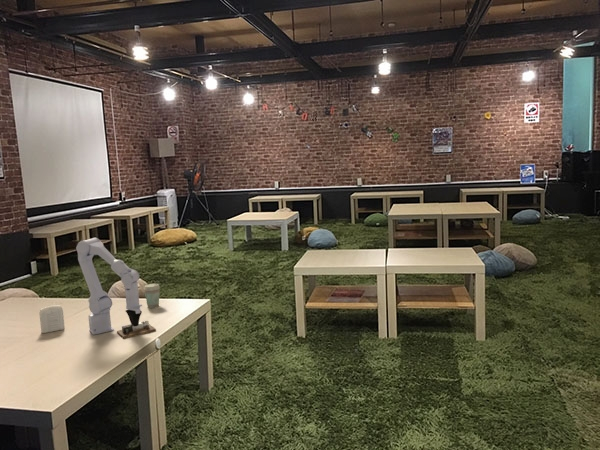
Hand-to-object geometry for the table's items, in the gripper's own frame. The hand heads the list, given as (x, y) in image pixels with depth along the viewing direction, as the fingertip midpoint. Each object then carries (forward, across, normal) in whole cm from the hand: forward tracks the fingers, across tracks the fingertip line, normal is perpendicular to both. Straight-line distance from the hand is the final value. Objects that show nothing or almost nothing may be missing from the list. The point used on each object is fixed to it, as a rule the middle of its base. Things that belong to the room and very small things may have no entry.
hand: (134, 325), depth 236 cm
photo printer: (+4, +30, +30) cm, 43 cm away
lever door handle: (+2, 0, -1) cm, 2 cm away
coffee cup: (+4, +36, -21) cm, 41 cm away
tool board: (+3, 0, 0) cm, 3 cm away
